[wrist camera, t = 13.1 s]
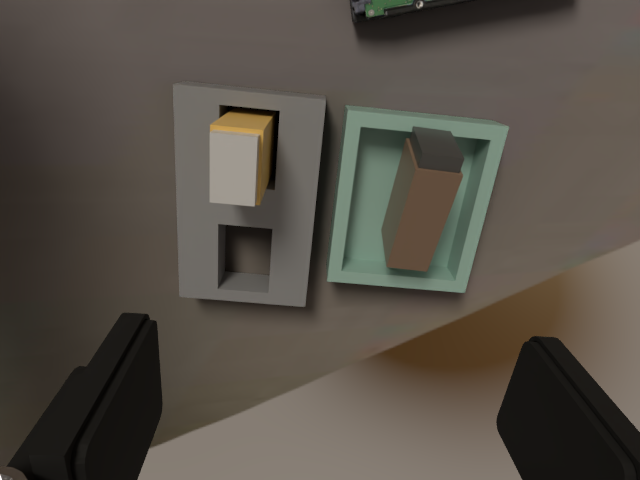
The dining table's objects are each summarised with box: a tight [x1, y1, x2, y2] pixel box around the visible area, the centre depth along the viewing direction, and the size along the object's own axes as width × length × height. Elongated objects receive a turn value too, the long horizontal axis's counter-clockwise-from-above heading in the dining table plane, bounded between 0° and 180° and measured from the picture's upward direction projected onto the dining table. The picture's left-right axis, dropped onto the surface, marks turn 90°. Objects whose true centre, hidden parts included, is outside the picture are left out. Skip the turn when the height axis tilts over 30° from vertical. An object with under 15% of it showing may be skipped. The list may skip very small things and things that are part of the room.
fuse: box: [210, 108, 276, 207], centre depth 29 cm, size 4×3×9 cm, turn 174°
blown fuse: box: [381, 126, 464, 272], centre depth 31 cm, size 4×3×9 cm
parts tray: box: [326, 105, 509, 293], centre depth 33 cm, size 13×11×3 cm
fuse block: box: [173, 81, 326, 307], centre depth 33 cm, size 16×10×3 cm, turn 174°
